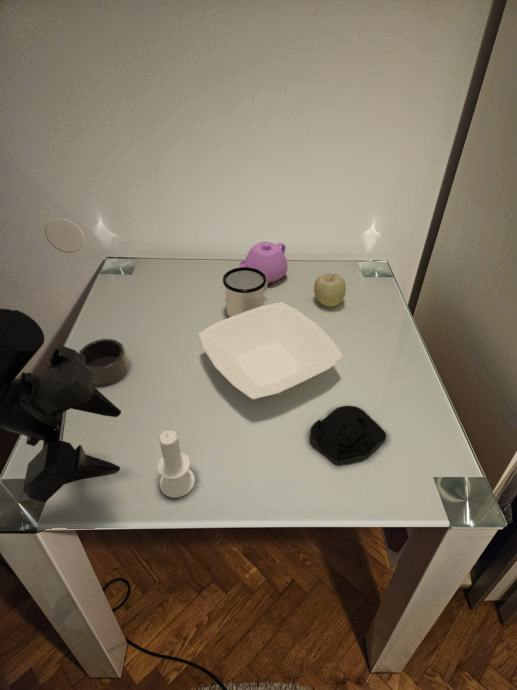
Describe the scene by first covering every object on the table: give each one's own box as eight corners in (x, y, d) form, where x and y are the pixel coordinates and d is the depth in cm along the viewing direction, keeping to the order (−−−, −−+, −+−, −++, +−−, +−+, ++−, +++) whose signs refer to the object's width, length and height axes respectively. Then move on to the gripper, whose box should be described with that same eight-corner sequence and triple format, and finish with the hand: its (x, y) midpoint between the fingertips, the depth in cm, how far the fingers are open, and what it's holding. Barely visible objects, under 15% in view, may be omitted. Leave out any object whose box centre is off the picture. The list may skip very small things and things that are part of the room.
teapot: (298, 275, 111) (301, 242, 105) (254, 297, 104) (255, 263, 98) (270, 259, 117) (271, 227, 111) (227, 279, 110) (225, 246, 103)
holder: (83, 389, 81) (77, 372, 78) (84, 359, 87) (78, 343, 84) (129, 381, 83) (125, 364, 80) (127, 352, 89) (122, 335, 86)
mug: (246, 330, 95) (245, 296, 89) (215, 312, 99) (213, 278, 93) (280, 306, 101) (282, 272, 95) (250, 290, 106) (250, 257, 100)
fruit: (350, 302, 103) (355, 273, 98) (331, 315, 99) (335, 286, 94) (325, 289, 107) (329, 260, 102) (305, 301, 103) (308, 272, 98)
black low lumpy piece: (346, 401, 80) (350, 383, 76) (392, 434, 74) (398, 415, 71) (301, 437, 74) (304, 419, 70) (348, 476, 68) (353, 458, 65)
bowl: (190, 353, 89) (188, 332, 85) (283, 317, 98) (285, 296, 95) (247, 428, 75) (247, 407, 71) (350, 377, 84) (354, 356, 80)
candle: (153, 480, 67) (140, 432, 59) (182, 461, 70) (174, 412, 62) (171, 504, 64) (160, 458, 56) (201, 484, 67) (195, 436, 59)
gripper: (17, 423, 39) (160, 468, 48) (46, 302, 53) (153, 356, 62) (-39, 486, 43) (102, 518, 52) (1, 359, 56) (107, 402, 66)
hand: (118, 440), depth 58 cm, fingers open, 9 cm apart
